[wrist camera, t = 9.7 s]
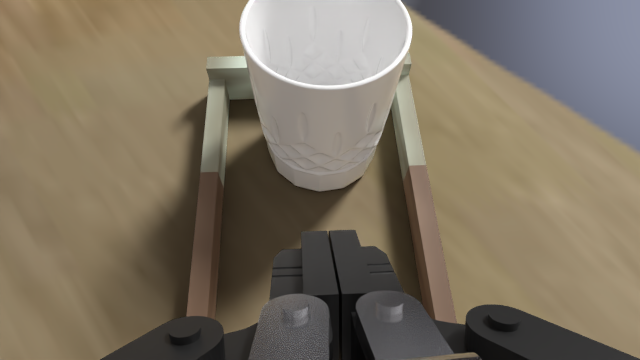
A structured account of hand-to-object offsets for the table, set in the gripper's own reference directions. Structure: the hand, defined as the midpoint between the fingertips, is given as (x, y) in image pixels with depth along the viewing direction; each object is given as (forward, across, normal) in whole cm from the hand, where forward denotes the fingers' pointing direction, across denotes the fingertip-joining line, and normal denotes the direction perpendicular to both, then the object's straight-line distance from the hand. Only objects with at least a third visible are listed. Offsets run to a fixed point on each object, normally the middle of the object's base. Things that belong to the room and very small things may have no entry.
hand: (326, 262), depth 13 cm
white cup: (+18, -1, 0) cm, 18 cm away
